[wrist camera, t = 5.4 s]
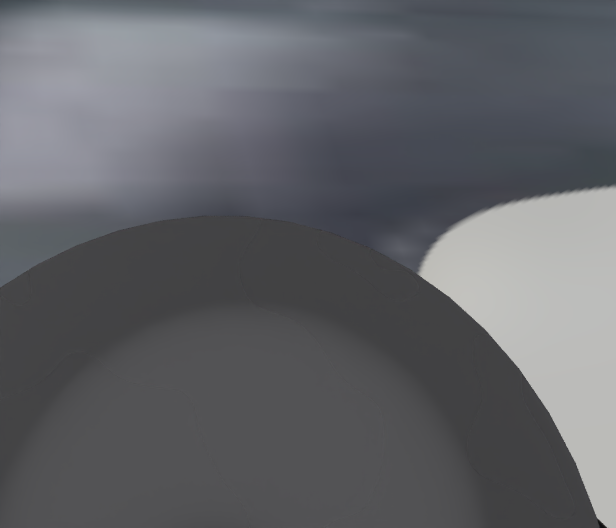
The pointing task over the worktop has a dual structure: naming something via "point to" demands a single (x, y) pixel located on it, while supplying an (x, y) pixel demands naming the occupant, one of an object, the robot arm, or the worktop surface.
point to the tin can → (263, 391)
